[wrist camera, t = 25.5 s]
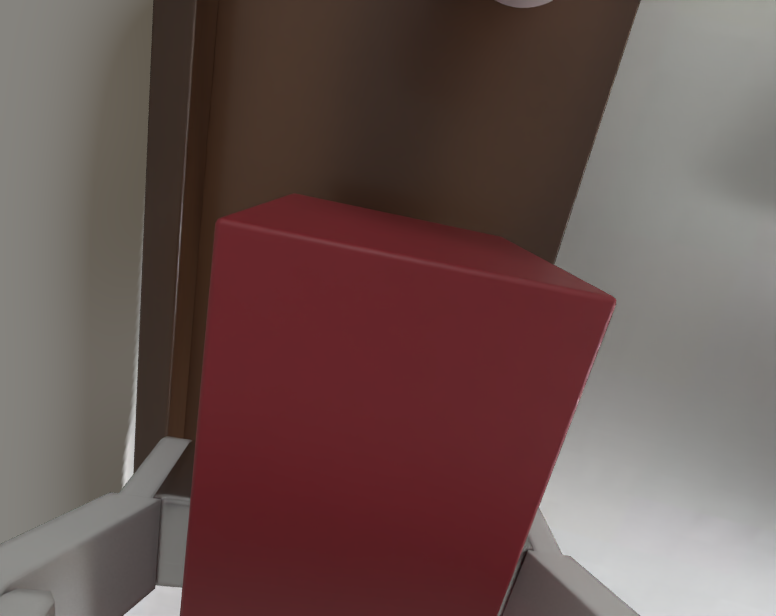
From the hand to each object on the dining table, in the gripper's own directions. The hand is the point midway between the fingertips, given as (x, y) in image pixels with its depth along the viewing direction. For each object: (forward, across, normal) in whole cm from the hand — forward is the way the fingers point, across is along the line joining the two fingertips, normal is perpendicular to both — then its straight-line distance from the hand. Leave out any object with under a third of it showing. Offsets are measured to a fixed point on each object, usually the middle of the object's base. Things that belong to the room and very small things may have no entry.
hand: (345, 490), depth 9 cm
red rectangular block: (+2, 0, 0) cm, 2 cm away
